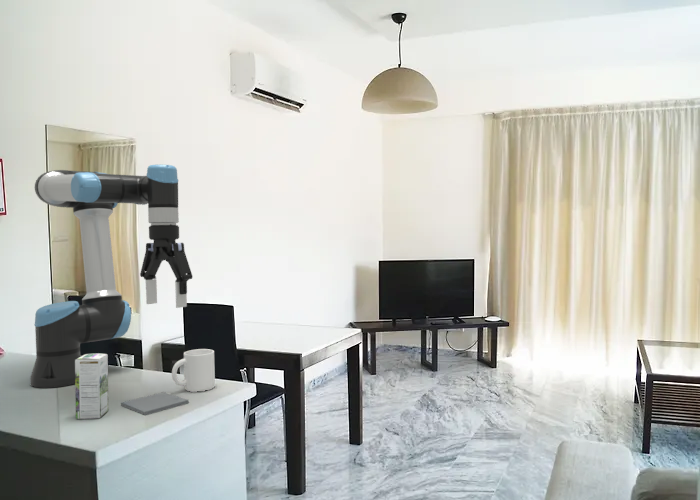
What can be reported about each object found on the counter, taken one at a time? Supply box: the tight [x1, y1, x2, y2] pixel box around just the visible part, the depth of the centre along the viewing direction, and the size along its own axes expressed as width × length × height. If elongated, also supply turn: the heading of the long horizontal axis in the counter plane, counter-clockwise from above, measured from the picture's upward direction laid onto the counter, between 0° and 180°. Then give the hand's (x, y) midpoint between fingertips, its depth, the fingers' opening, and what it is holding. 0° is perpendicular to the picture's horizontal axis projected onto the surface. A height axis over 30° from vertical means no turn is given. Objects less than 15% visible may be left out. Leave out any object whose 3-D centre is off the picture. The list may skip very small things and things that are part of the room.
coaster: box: [120, 391, 190, 416], centre depth 143 cm, size 12×12×1 cm
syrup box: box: [74, 352, 109, 420], centre depth 135 cm, size 6×6×14 cm
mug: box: [171, 348, 216, 393], centre depth 156 cm, size 12×8×10 cm
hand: (166, 305), depth 147 cm, fingers open, 13 cm apart
